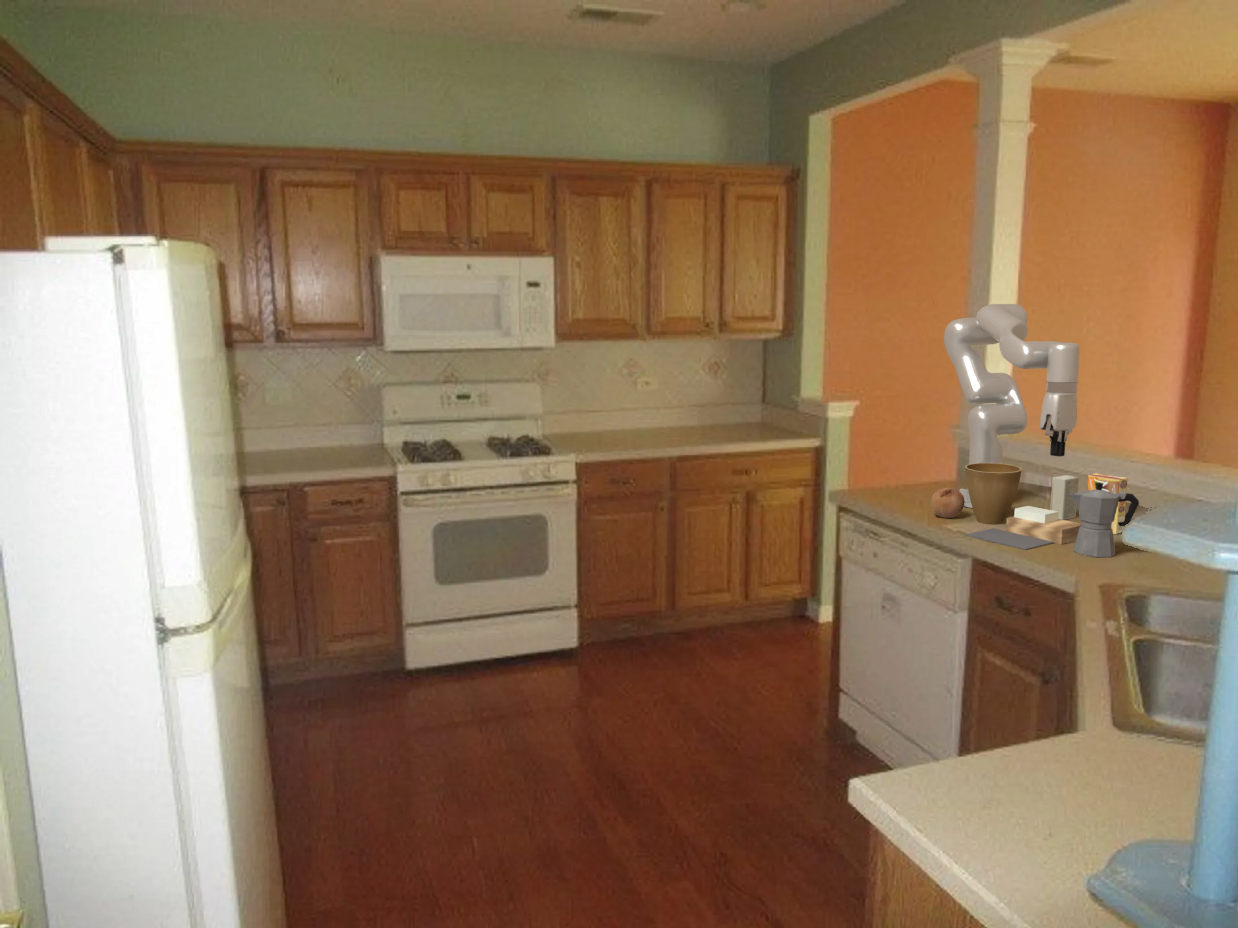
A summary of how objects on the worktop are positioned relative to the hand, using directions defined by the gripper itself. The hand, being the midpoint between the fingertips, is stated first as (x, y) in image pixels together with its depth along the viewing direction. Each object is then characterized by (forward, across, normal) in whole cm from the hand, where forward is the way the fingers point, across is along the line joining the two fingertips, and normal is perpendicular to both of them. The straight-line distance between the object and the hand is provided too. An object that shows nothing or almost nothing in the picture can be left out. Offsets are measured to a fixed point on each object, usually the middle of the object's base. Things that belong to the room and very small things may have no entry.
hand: (1057, 455), depth 242 cm
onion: (+21, +11, -26) cm, 35 cm away
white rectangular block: (+17, +7, 0) cm, 18 cm away
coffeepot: (+21, +13, +20) cm, 32 cm away
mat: (+21, +19, 0) cm, 28 cm away
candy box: (+21, -10, +8) cm, 25 cm away
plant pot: (+21, +6, -16) cm, 27 cm away
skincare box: (+21, -15, -6) cm, 27 cm away
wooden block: (+21, +8, +2) cm, 22 cm away
